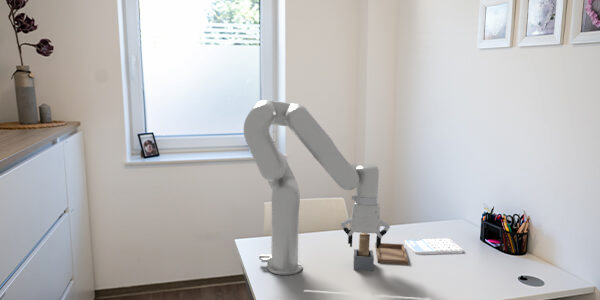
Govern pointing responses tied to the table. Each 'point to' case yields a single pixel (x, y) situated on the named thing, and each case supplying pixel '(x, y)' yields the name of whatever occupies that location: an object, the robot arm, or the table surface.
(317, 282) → the table surface
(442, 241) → the calculator
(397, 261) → the tray
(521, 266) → the table surface
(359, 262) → the pen cup
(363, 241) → the dowel
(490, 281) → the table surface
